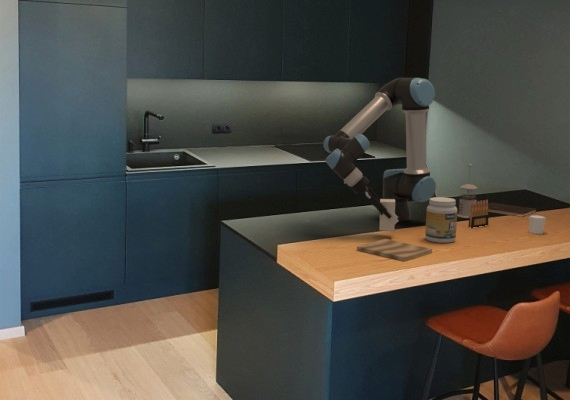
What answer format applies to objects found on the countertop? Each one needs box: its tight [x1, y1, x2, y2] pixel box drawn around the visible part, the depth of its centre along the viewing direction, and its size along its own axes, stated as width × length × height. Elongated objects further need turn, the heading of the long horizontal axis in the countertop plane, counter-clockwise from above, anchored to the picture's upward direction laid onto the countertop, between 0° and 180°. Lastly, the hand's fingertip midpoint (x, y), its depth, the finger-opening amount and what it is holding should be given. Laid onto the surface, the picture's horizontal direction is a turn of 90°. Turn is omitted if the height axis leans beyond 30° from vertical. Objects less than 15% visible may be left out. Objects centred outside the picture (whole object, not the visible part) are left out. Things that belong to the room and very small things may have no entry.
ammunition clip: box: [468, 199, 490, 229], centre depth 315 cm, size 11×2×12 cm, turn 122°
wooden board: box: [356, 238, 433, 262], centre depth 272 cm, size 22×18×2 cm
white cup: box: [528, 214, 547, 235], centre depth 305 cm, size 7×7×7 cm
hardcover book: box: [488, 202, 537, 216], centre depth 351 cm, size 16×23×2 cm
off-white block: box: [379, 198, 396, 232], centre depth 293 cm, size 6×6×12 cm
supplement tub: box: [424, 196, 458, 244], centre depth 289 cm, size 12×12×17 cm
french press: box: [457, 163, 478, 219], centre depth 337 cm, size 10×12×25 cm
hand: (395, 221), depth 293 cm, fingers closed on off-white block, 6 cm apart
